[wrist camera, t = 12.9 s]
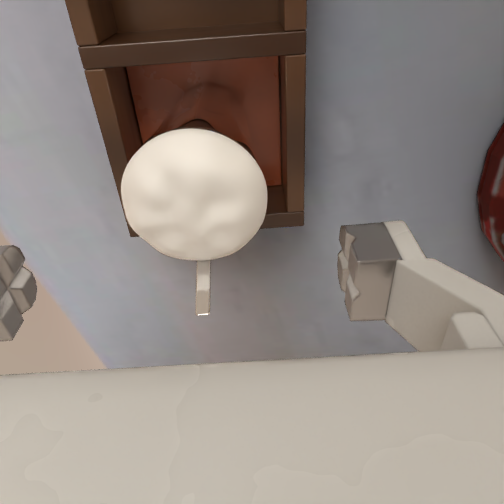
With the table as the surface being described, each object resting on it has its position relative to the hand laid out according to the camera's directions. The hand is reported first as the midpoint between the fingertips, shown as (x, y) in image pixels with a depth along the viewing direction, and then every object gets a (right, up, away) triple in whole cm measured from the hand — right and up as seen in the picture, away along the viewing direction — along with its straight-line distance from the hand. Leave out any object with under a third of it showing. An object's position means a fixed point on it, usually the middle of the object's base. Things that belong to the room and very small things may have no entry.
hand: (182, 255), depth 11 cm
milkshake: (0, +6, +9) cm, 11 cm away
